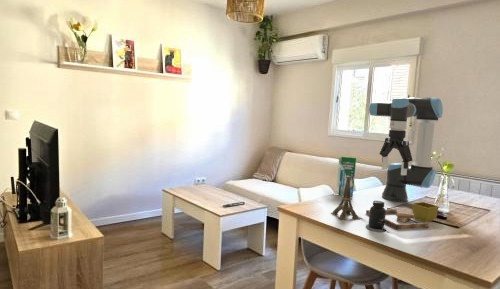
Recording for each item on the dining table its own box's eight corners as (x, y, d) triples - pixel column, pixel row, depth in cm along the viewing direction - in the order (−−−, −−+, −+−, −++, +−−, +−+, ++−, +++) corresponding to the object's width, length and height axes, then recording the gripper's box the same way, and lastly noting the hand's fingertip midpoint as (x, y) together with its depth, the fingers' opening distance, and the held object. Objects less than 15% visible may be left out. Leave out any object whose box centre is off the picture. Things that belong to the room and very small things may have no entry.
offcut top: (413, 218, 158) (414, 214, 157) (397, 216, 159) (397, 212, 159) (411, 216, 161) (412, 212, 161) (395, 214, 162) (395, 210, 162)
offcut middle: (408, 220, 162) (409, 216, 161) (404, 223, 156) (404, 219, 156) (401, 218, 164) (402, 214, 164) (396, 221, 159) (397, 217, 158)
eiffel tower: (330, 213, 170) (334, 166, 167) (348, 213, 173) (352, 166, 170) (340, 220, 160) (345, 170, 157) (359, 219, 162) (364, 170, 160)
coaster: (377, 224, 156) (378, 223, 156) (390, 231, 147) (391, 230, 147) (361, 225, 154) (361, 224, 153) (374, 232, 145) (374, 231, 145)
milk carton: (349, 192, 219) (353, 155, 216) (352, 196, 210) (356, 157, 207) (336, 191, 220) (339, 154, 217) (338, 194, 211) (341, 156, 208)
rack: (394, 215, 173) (395, 209, 172) (428, 230, 152) (428, 223, 151) (365, 216, 167) (366, 210, 167) (396, 232, 146) (396, 225, 146)
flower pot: (425, 225, 158) (428, 207, 158) (409, 220, 166) (411, 203, 165) (437, 224, 163) (439, 206, 162) (420, 218, 170) (422, 201, 169)
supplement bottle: (382, 230, 146) (385, 204, 145) (366, 227, 149) (369, 201, 148) (385, 226, 152) (387, 201, 151) (369, 223, 155) (372, 198, 154)
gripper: (374, 127, 171) (371, 167, 173) (410, 132, 147) (405, 177, 150) (386, 127, 173) (383, 167, 175) (423, 132, 149) (419, 177, 152)
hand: (393, 172), depth 163 cm, fingers open, 13 cm apart
